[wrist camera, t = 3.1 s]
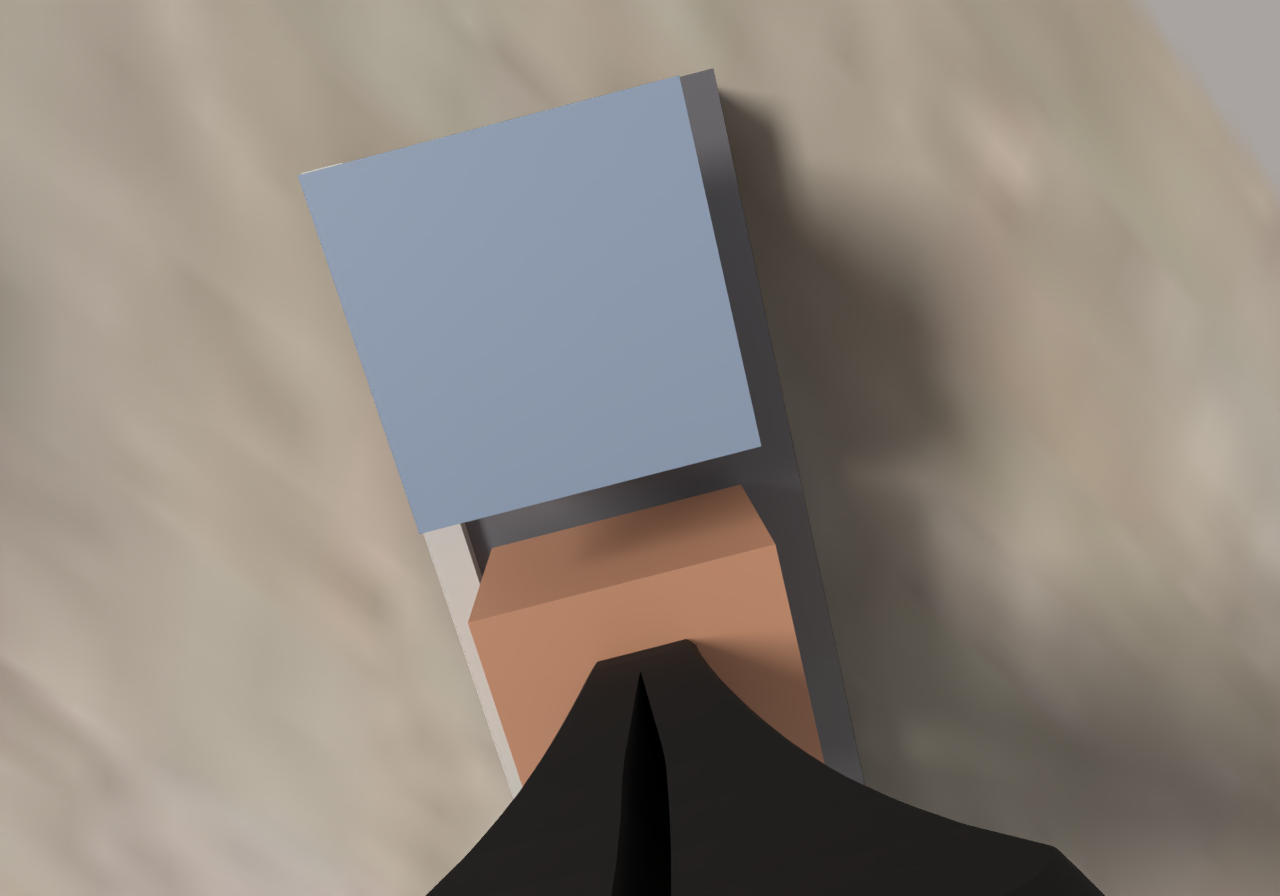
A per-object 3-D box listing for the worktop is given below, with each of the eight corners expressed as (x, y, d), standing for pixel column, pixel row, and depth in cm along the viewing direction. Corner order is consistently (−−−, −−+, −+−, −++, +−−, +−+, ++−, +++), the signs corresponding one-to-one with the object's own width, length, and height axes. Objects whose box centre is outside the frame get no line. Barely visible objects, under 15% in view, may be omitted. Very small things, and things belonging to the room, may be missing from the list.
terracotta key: (791, 705, 14) (834, 808, 12) (560, 764, 14) (553, 879, 12) (740, 484, 13) (775, 544, 11) (491, 548, 13) (468, 623, 11)
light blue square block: (726, 401, 12) (761, 446, 10) (456, 471, 12) (419, 533, 10) (660, 110, 11) (679, 74, 9) (365, 188, 11) (297, 175, 9)
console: (879, 901, 17) (905, 962, 16) (594, 972, 17) (594, 1039, 16) (702, 82, 13) (716, 63, 12) (333, 179, 13) (301, 173, 12)
